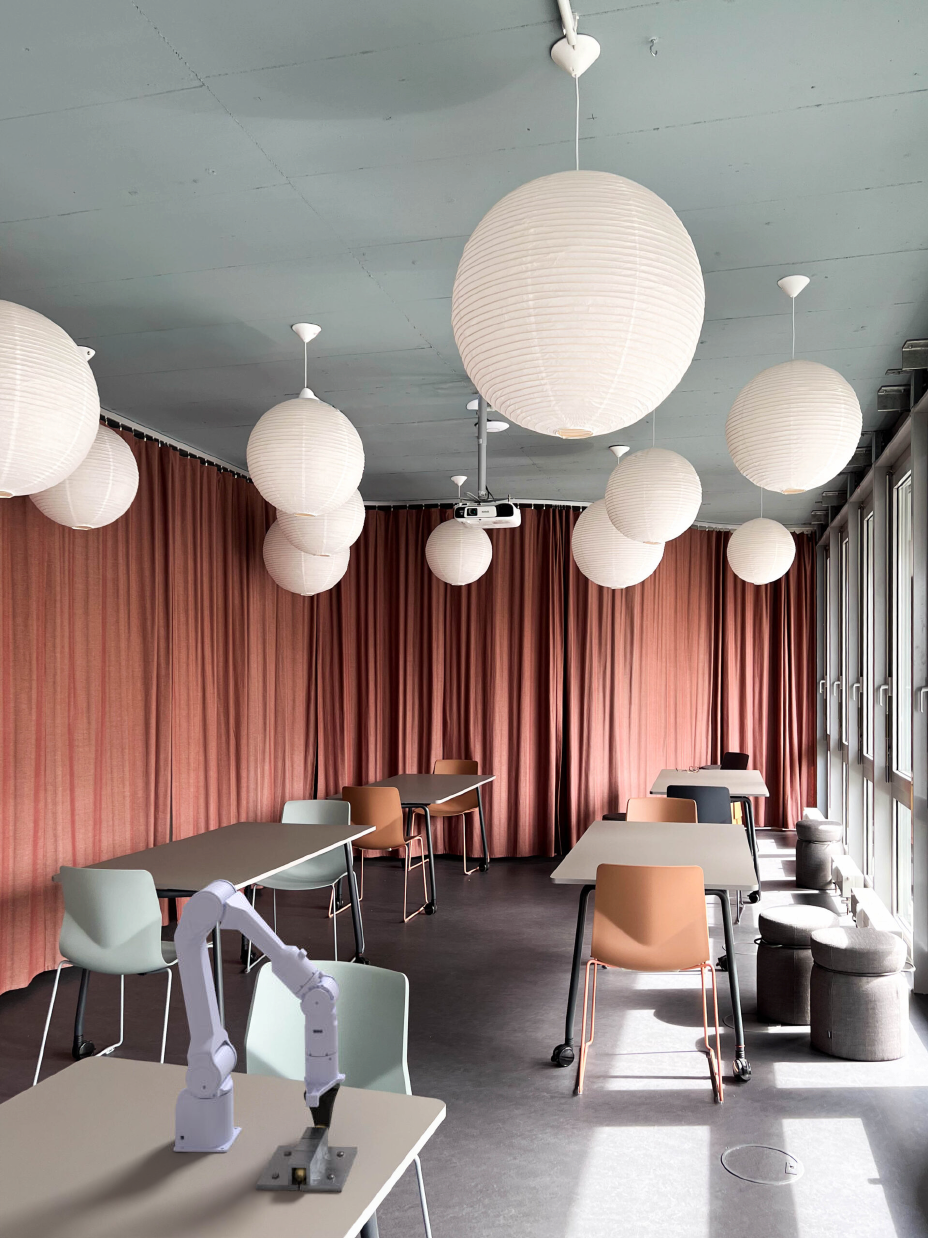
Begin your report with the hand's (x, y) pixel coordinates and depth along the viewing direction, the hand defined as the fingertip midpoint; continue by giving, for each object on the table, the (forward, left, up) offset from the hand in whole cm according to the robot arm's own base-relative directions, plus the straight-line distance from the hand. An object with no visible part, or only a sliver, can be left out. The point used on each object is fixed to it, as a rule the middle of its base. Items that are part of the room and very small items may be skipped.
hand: (322, 1131), depth 160 cm
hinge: (0, -10, -2) cm, 10 cm away
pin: (0, -8, -1) cm, 8 cm away
